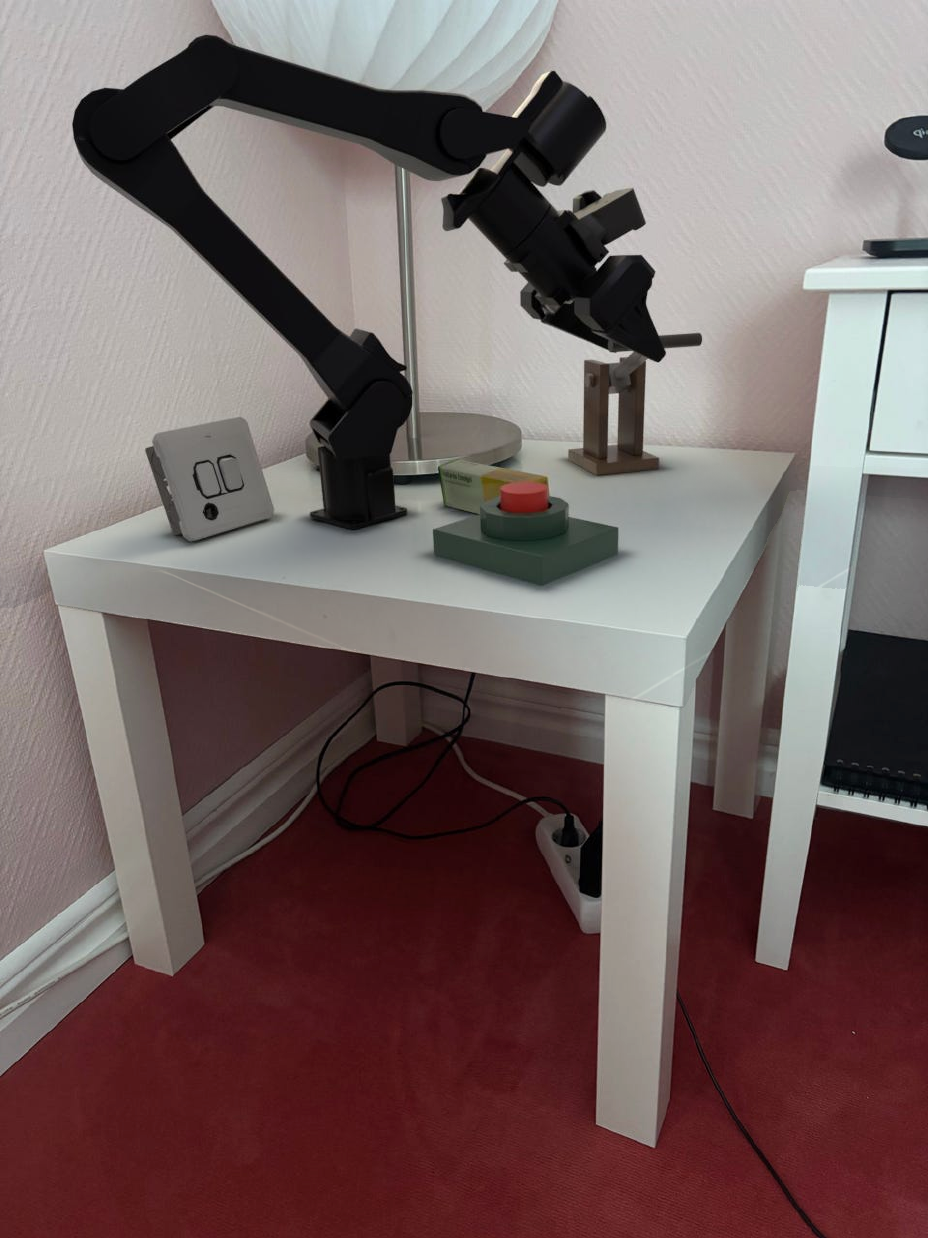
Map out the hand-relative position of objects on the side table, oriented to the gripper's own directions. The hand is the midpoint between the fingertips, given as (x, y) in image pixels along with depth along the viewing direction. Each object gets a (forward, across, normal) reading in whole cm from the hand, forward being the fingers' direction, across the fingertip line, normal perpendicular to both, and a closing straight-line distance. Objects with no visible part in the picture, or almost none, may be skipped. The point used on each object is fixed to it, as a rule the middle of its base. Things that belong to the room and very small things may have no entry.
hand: (639, 353), depth 84 cm
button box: (-3, -17, +21) cm, 27 cm away
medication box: (-2, -6, +20) cm, 21 cm away
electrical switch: (-20, +1, +37) cm, 42 cm away
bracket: (+10, +9, +8) cm, 15 cm away
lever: (+3, +4, +1) cm, 5 cm away
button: (-6, -17, +18) cm, 26 cm away
